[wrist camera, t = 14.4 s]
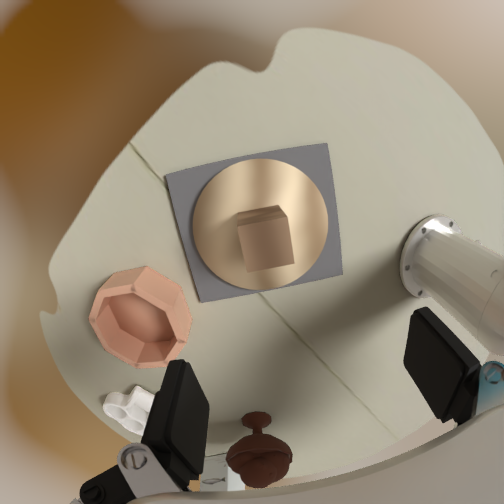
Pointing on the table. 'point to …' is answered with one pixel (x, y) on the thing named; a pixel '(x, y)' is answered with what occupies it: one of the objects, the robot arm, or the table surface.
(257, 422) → the ice cream bowl
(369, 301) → the table surface
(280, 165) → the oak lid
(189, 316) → the terracotta bowl
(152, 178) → the table surface
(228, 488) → the supplement box
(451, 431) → the robot arm
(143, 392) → the white holed part
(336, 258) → the rubber mat
